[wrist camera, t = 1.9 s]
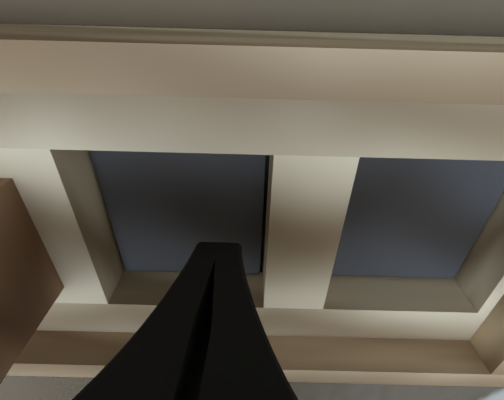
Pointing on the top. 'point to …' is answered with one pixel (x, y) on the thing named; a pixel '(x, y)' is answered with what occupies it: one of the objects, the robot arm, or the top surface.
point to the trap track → (278, 193)
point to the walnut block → (21, 276)
